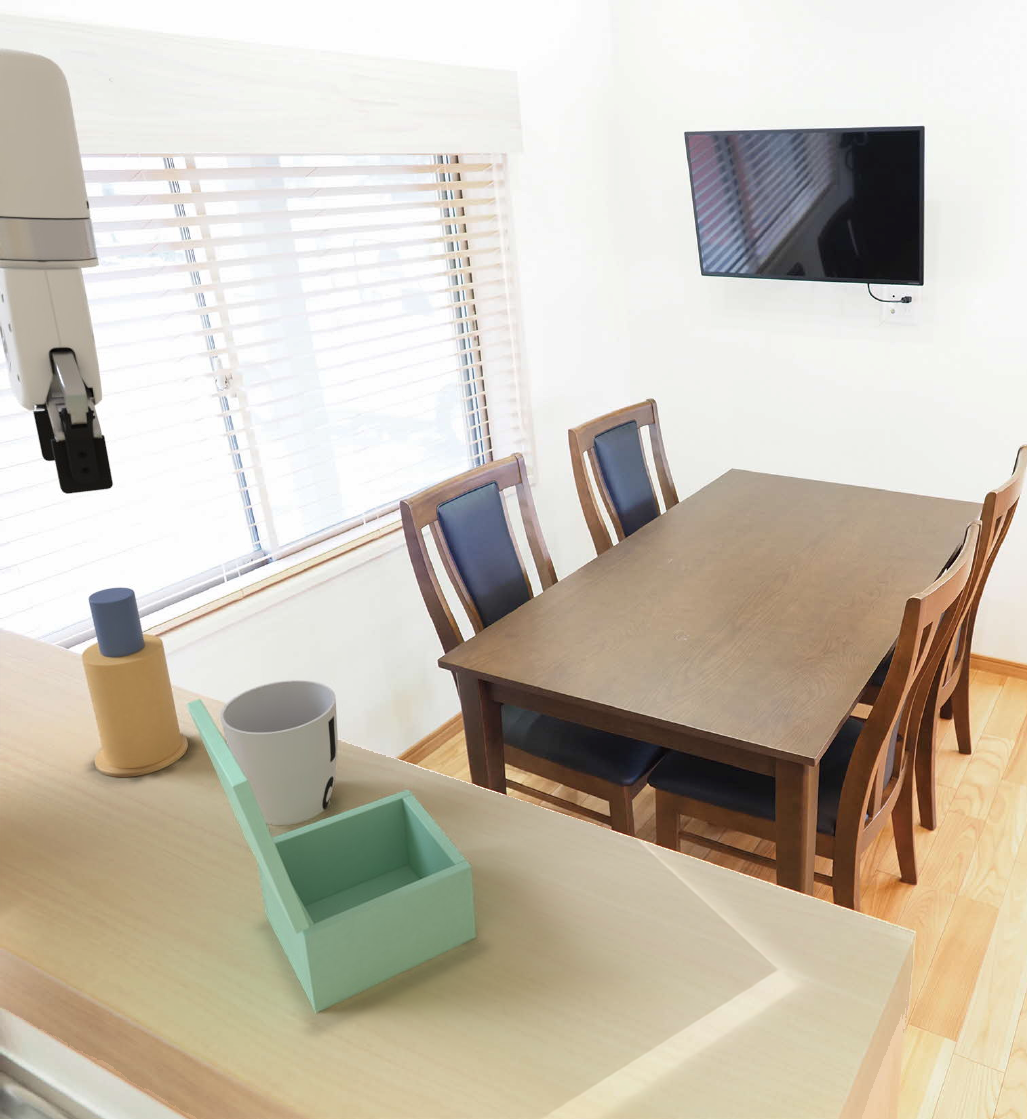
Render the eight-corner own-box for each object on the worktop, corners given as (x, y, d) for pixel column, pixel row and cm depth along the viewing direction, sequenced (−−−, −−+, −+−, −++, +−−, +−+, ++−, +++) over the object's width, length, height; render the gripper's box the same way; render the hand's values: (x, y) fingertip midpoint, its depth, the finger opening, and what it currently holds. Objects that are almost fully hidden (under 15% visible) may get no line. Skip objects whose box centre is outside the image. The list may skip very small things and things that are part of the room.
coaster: (102, 787, 79) (101, 783, 79) (89, 748, 84) (88, 745, 84) (196, 759, 83) (195, 755, 83) (178, 724, 88) (177, 721, 88)
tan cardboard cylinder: (111, 776, 80) (74, 615, 74) (99, 745, 84) (64, 590, 78) (188, 754, 83) (159, 599, 78) (173, 725, 88) (144, 576, 82)
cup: (356, 825, 76) (343, 718, 73) (244, 855, 72) (224, 744, 69) (339, 773, 83) (326, 672, 79) (234, 798, 79) (216, 693, 75)
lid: (199, 697, 58) (185, 703, 58) (247, 779, 51) (232, 787, 51) (259, 835, 64) (246, 841, 63) (310, 927, 56) (296, 935, 56)
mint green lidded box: (415, 863, 73) (408, 788, 70) (476, 945, 65) (472, 866, 63) (266, 923, 66) (253, 843, 64) (316, 1022, 59) (304, 937, 56)
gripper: (-44, 232, 71) (5, 452, 77) (-24, 253, 59) (32, 512, 65) (76, 234, 76) (113, 442, 82) (117, 255, 64) (156, 496, 70)
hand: (77, 473), depth 74 cm, fingers open, 9 cm apart
